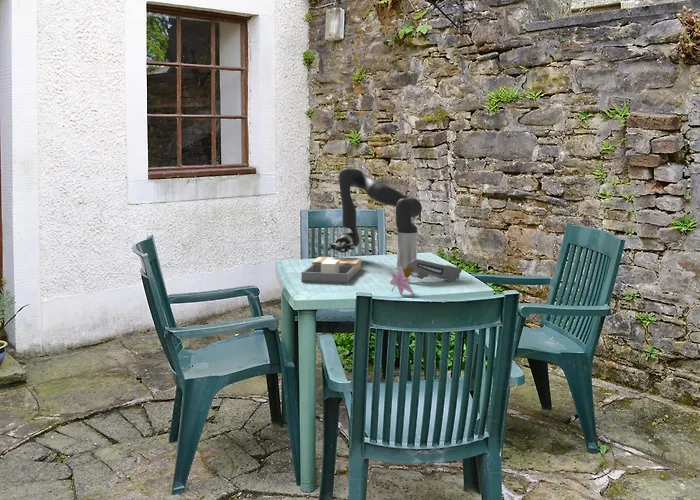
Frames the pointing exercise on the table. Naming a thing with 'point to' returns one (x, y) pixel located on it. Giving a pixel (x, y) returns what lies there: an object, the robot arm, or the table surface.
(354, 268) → the box
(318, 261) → the tan flat block
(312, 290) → the table surface
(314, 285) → the table surface
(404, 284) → the lily
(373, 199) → the robot arm
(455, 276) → the gun
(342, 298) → the table surface
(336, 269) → the cream block
